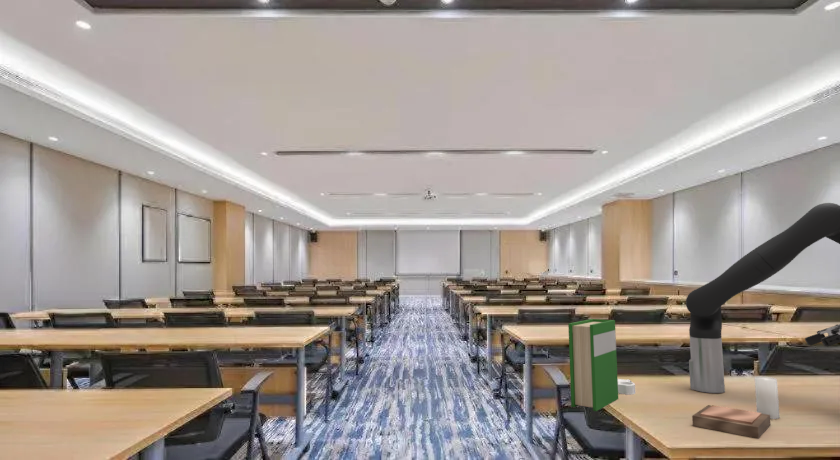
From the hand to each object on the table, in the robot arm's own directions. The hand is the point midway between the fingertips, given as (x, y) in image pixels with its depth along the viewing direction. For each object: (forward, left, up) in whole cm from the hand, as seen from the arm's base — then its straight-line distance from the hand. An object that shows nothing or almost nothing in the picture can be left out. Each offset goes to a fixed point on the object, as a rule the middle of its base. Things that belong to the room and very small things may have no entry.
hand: (814, 342), depth 134 cm
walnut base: (-15, -25, -20) cm, 35 cm away
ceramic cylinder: (-10, -9, -20) cm, 24 cm away
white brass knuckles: (-55, -7, -20) cm, 59 cm away
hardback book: (-50, -27, -20) cm, 60 cm away
